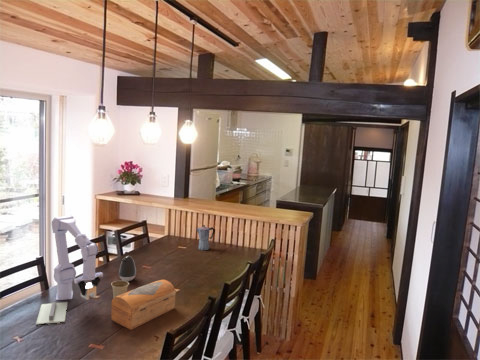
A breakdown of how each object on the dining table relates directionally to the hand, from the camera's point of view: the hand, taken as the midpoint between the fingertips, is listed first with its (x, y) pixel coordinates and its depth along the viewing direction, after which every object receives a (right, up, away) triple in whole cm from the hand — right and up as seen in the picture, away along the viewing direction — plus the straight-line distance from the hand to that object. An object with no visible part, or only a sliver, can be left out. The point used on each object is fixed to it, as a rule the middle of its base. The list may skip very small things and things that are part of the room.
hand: (88, 293), depth 189 cm
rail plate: (-15, -8, -7) cm, 18 cm away
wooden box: (+28, -11, +1) cm, 30 cm away
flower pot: (+11, -8, +15) cm, 20 cm away
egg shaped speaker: (+7, -4, +41) cm, 42 cm away
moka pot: (+48, +1, +115) cm, 125 cm away
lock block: (0, -2, 0) cm, 2 cm away
